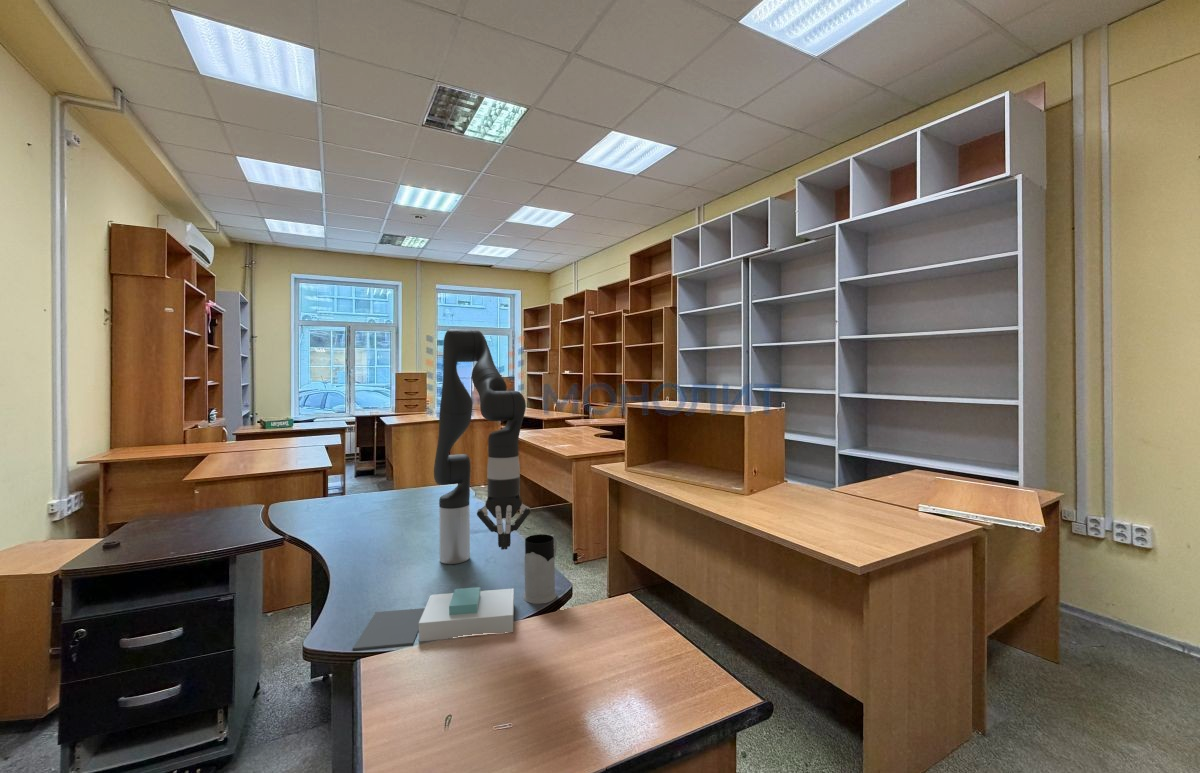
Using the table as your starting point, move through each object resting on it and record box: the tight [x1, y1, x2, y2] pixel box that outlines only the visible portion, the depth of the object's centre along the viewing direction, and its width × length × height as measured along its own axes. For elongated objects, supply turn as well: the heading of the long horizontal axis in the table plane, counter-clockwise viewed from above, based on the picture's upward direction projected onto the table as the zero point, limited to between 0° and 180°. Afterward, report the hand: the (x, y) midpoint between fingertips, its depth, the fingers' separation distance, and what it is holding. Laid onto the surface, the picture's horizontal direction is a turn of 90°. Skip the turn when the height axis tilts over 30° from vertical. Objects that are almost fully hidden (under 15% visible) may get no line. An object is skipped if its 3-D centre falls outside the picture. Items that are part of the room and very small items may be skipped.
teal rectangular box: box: [449, 586, 481, 615], centre depth 110 cm, size 9×6×2 cm, turn 9°
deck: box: [418, 588, 515, 642], centre depth 110 cm, size 14×20×4 cm
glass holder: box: [522, 533, 558, 605], centre depth 126 cm, size 9×14×15 cm, turn 160°
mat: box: [352, 607, 425, 651], centre depth 108 cm, size 16×12×1 cm
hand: (504, 548), depth 112 cm, fingers closed
